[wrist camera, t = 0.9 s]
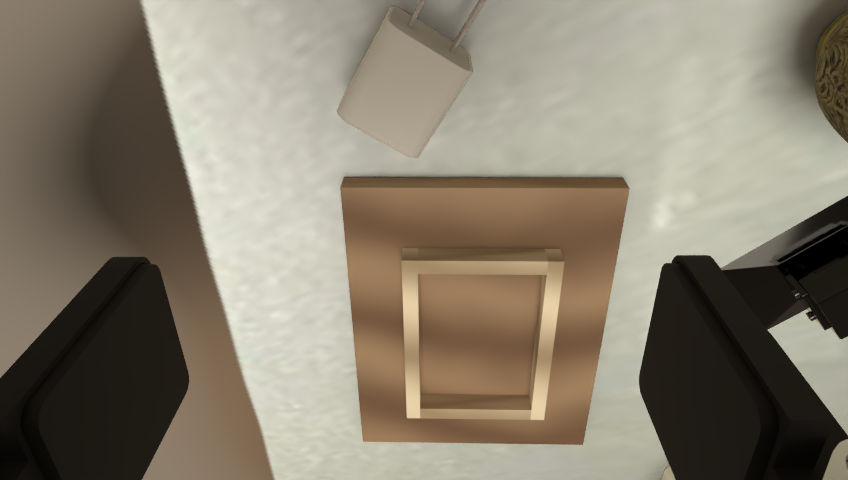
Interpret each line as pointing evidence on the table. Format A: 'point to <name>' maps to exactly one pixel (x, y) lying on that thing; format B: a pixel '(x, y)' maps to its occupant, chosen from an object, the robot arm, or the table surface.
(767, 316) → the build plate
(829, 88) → the cup
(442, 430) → the jig board
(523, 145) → the table surface
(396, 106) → the usb wall charger
